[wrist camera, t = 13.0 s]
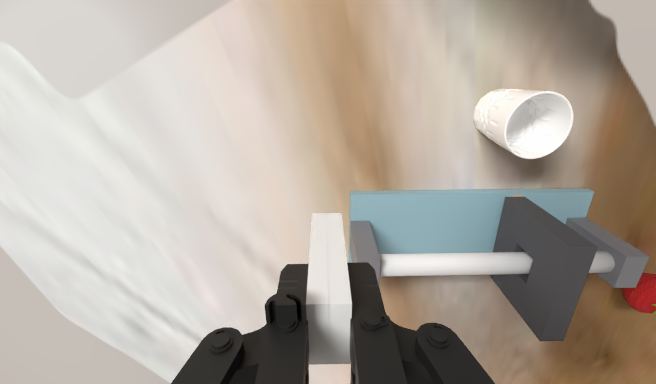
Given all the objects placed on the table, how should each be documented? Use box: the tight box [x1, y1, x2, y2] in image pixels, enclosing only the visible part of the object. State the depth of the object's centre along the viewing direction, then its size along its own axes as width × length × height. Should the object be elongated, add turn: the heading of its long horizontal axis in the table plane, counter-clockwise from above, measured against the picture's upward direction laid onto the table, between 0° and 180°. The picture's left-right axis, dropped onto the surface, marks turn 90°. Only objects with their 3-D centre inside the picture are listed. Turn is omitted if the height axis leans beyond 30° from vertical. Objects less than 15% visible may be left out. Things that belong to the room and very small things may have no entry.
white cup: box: [473, 89, 574, 159], centre depth 42 cm, size 8×8×10 cm
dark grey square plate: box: [490, 197, 598, 341], centre depth 45 cm, size 3×14×14 cm, turn 0°
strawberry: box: [622, 273, 656, 314], centre depth 54 cm, size 6×8×10 cm
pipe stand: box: [349, 188, 650, 288], centre depth 48 cm, size 38×14×12 cm, turn 90°
